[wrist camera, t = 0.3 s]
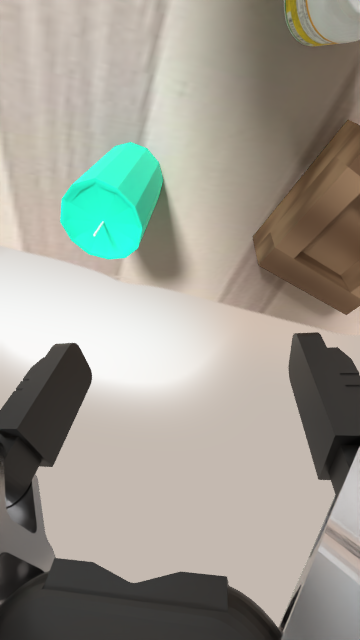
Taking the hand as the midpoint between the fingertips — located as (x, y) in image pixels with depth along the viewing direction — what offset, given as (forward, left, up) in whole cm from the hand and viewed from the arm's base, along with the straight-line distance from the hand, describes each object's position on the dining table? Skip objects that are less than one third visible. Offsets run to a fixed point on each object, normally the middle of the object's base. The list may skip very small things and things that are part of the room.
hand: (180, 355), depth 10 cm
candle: (+4, -6, -22) cm, 23 cm away
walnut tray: (-3, +14, -22) cm, 27 cm away
